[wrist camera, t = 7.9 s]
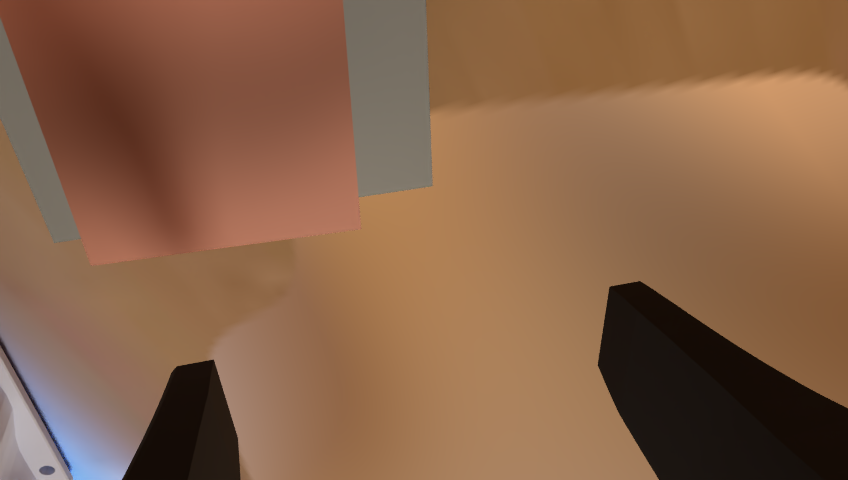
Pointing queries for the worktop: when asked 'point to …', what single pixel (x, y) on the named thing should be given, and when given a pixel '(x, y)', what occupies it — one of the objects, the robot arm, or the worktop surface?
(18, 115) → the grey block
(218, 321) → the worktop surface
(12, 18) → the red cube
